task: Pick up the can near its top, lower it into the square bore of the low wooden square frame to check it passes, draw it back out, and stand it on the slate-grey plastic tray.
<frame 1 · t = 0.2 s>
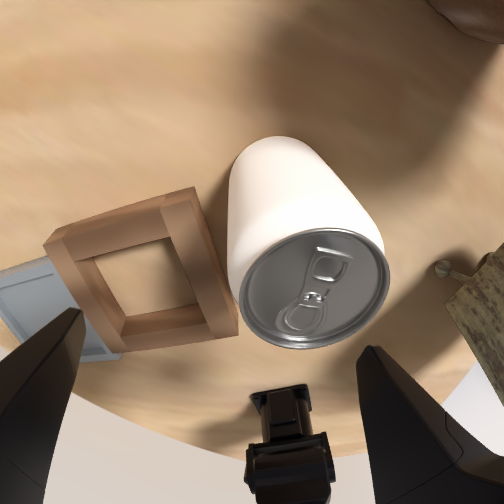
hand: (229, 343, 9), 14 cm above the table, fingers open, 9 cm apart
tray: (49, 313, 27), on the table
wooden square frame: (147, 274, 25), on the table
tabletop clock: (476, 267, 27), on the table
can: (276, 179, 21), on the table
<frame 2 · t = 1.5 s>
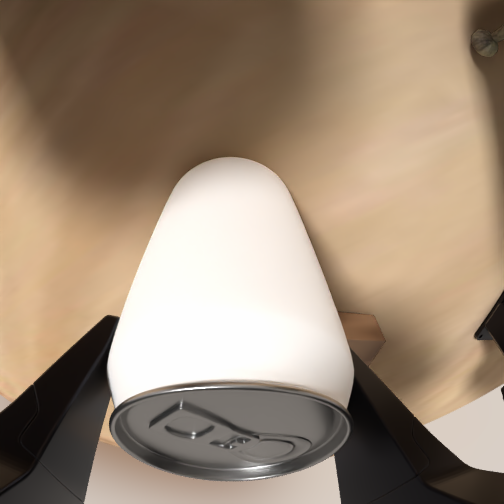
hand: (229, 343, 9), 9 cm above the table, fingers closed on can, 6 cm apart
wooden square frame: (269, 365, 23), on the table
can: (230, 213, 17), on the table, touching gripper
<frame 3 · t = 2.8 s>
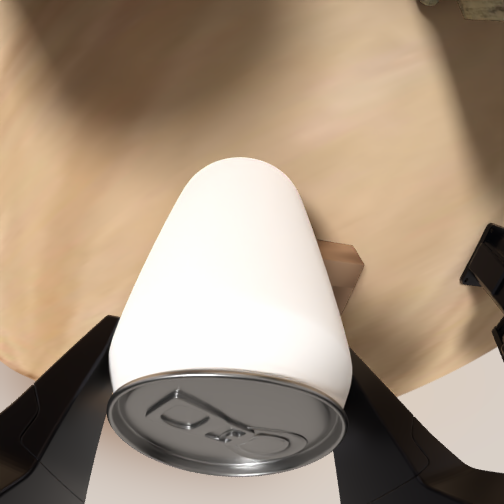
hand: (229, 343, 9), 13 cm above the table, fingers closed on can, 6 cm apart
wooden square frame: (256, 300, 25), on the table
can: (240, 213, 17), point 4 cm above the table, touching gripper
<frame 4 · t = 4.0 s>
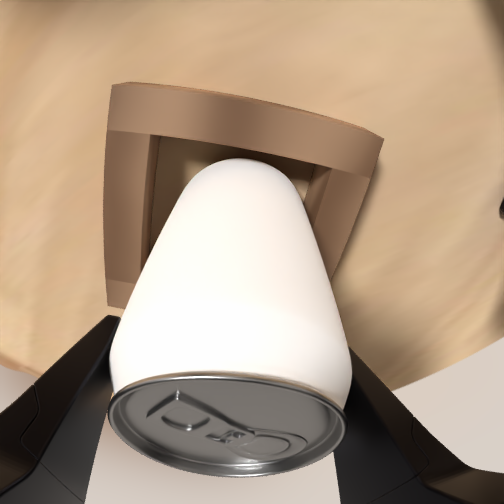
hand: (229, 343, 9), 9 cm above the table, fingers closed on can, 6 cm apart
wooden square frame: (226, 208, 17), on the table
can: (240, 214, 17), point 1 cm above the table, touching gripper
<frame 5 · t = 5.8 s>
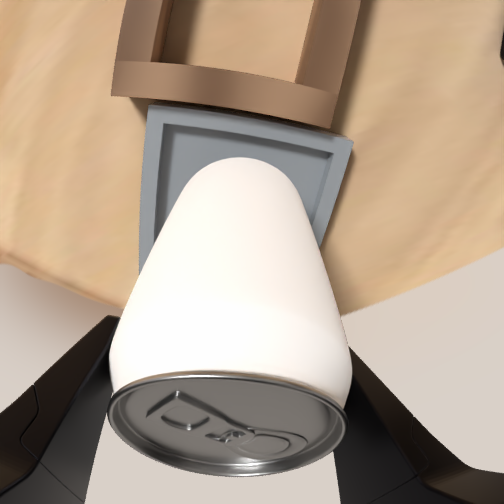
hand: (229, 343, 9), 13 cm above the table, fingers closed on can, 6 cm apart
tray: (235, 203, 21), on the table
wooden square frame: (241, 9, 14), on the table
can: (240, 213, 17), point 4 cm above the table, touching gripper
when the fingers open (10 cm above the table, at t = 7.0 s): can stays where it is, resting on tray.
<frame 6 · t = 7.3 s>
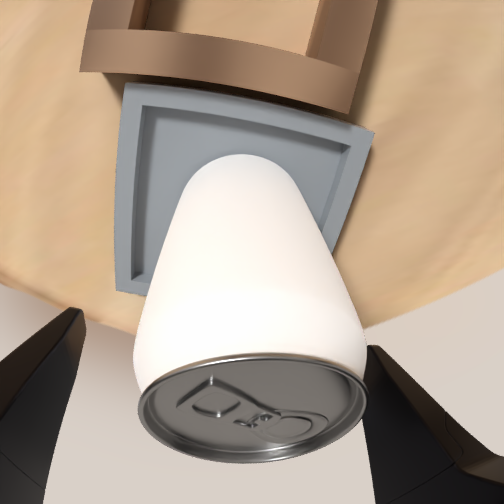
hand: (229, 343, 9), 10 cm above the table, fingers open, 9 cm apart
tray: (229, 205, 17), on the table
can: (240, 208, 17), resting on tray
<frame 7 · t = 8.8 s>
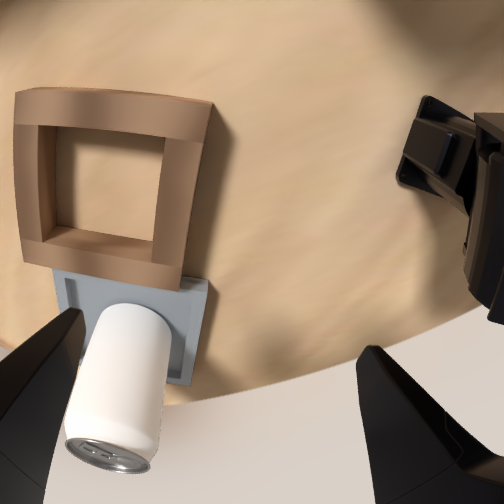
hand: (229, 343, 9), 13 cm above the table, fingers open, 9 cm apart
tray: (129, 323, 26), on the table
wooden square frame: (106, 180, 19), on the table
can: (135, 327, 25), resting on tray
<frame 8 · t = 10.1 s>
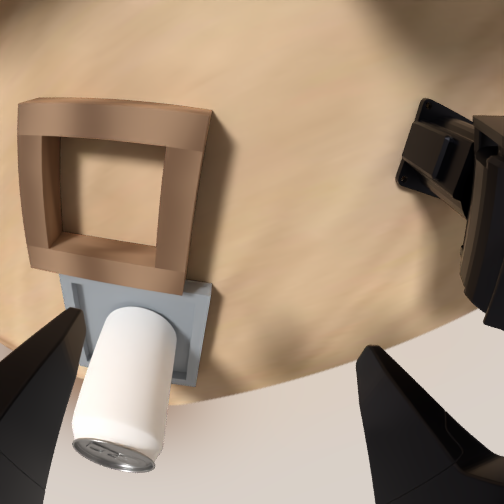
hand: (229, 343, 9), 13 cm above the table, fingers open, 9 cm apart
tray: (135, 325, 26), on the table
wooden square frame: (109, 188, 20), on the table
can: (141, 329, 26), resting on tray
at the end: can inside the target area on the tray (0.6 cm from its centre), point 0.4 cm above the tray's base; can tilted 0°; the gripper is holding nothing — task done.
